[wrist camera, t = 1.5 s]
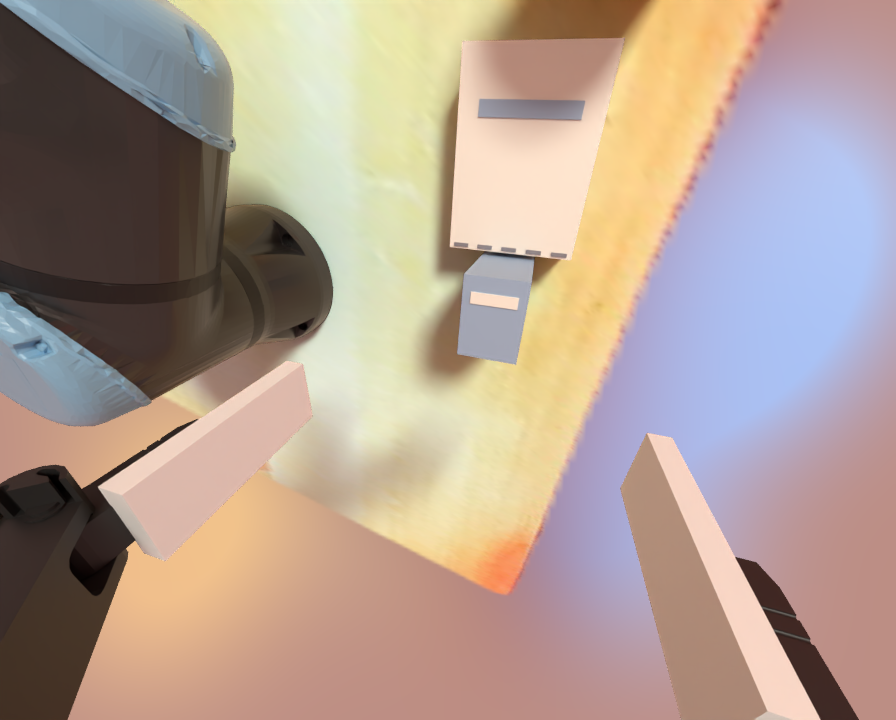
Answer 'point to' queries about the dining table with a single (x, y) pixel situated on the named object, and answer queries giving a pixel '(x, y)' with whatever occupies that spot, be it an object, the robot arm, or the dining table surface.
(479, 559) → the dining table surface
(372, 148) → the dining table surface
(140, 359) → the robot arm
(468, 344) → the stub
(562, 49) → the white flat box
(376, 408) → the dining table surface
